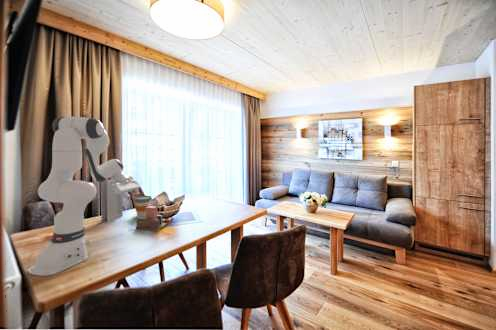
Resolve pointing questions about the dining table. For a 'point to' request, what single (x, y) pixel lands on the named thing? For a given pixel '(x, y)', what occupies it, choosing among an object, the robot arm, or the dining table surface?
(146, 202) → the reusable coffee cup
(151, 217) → the book
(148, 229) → the shelf
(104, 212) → the tall upright panel
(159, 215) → the bookend
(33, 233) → the dining table surface
